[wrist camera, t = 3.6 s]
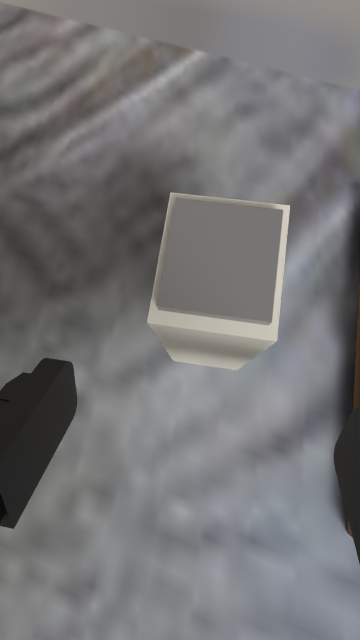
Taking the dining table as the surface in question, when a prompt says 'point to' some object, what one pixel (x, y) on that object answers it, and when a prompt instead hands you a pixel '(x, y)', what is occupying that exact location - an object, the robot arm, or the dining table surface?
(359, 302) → the rail board
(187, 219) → the rail module
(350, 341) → the dining table surface
